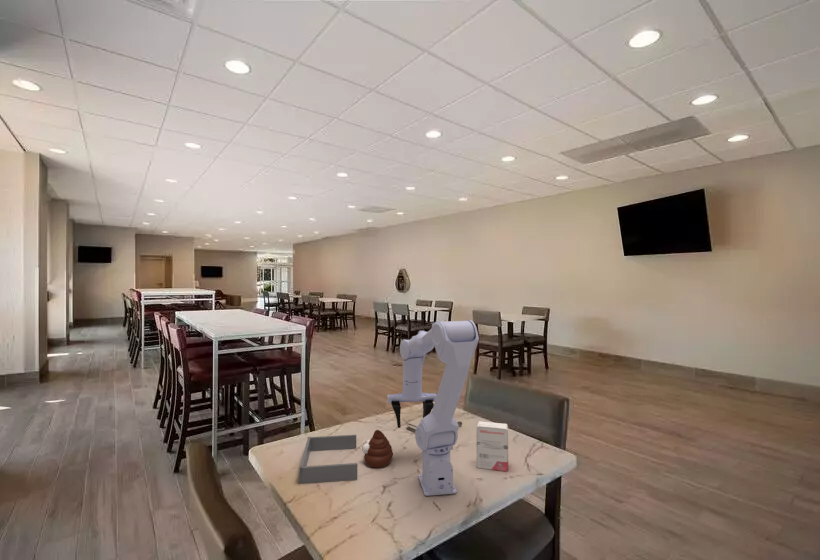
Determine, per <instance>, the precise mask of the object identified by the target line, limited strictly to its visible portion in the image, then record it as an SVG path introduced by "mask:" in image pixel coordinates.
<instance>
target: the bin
mask: <svg viewBox="0 0 820 560" xmlns="http://www.w3.org/2000/svg"><path fill="white" fill-rule="evenodd" d="M352 449H357V434H343V435H342V434H341V435H340V434H339V435H324V436H323V435H322V436H307V439H306V443H305V446H304V450H303V454H302V458H301V461H300V464H299V467H298V469H299V470H298V475H299V476H298V484H299V485H301V484H303V485H304V484H316V483H326V482H328V483H329V482H331V483H332V482H341V481H356V480H358V466H359V465H358V462H352V463H351V462H350V463H333V464H321V465H319V464H318V465H308V463H309V462H308V461H309V458H310V453H311V452H317V451H318V452H320V451H333V450H334V451H337V450H352Z"/></svg>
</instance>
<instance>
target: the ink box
mask: <svg viewBox="0 0 820 560" xmlns="http://www.w3.org/2000/svg"><path fill="white" fill-rule="evenodd" d="M476 468H477V469H483V470H493V471H499V472H500V471H501V472H509V426H508V423H499V422H491V421H481V420H478V422H477V424H476Z"/></svg>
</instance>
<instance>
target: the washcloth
mask: <svg viewBox="0 0 820 560" xmlns="http://www.w3.org/2000/svg"><path fill="white" fill-rule="evenodd" d="M421 419H422V418H419V419H416V420H411V421H408V422H407V423H406V426H407V427H406V429H407V430H408V431H410V432H412V433H414V434H415V431H416V428H417V426H418V425H419V424H420V422H421ZM456 421H457V423H458V426H459V428H461V427H462V426H463V422H462V421H461V420H458V419H456Z"/></svg>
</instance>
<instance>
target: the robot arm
mask: <svg viewBox="0 0 820 560" xmlns="http://www.w3.org/2000/svg"><path fill="white" fill-rule="evenodd" d="M479 341H480V337H479V332H478V328H477V326H476V324H475V323H474V321H473V320H471V319H466V320H454V321H453V320H451V321H450V320H449V321H447V320H446V321H441V320H436V321H435V322H433V323H431V328H430V329H429V330H428V331H425V330H419V331H417V334H416V335H413V336H411V338H410V339H402V340H401V342H400V344H399V353H400V357H401V359H402V392H400V393H392V394H387V398H386V399H387V400H386V401H387V404H390V405H391V407H392V409H393V411H394V415H395V418H396V423H397V424H396V426H397V428H398V429H401V428H402V427H401V426H402V425H401V423H402V422H401V408H402V406H401V403H411V402H412V403H413V402H417V403H418V402H422V418H420V419H421V422H420V424H419V425H418V426H417V428H416V431H415V433H414V435H415V437H414V438H415V441H416V445H417V447H418V448H419V449H420V450H421V452H422V453H421V454H422V455H421V456H422V457H421V462H422V463H421V464H422V465H421V466H422V467H421V471H422V472H421V474H419V475H418V476H417V477H418V479H419V480H418V481H419V483H420V486H421V488H422V492H423V494H424V496H441V495H442V496H443V495H452V494H455V495H456V494H457V489H456V487H455V485H454V468H453V467H454V466H453V465H452V462H451V451H452V450H454V446H455V445H456V443H457V442H458V436H459V435H458V433H459V432H458V431H459V428H460V427H459V426H458V423H457V421H456V420H457V419H456V418H455V417H454V416H455V412H456V409H457V407H458V404H459V401H460V399H461V395H462V392H463V389H464V386H465V384H466V380H467V377H468V374H469V371H470V368H471V363H472V359H474V358H473V357H474V356H475V352H476V349H477V346H478V344H479ZM434 348H435V349H434ZM433 349H434V350H435V352H436V354H437V357H438V359H439V361H440V362H442V363H444V364H445V367H444V371H443V374H442V377H441V380H440V384H439V387H438V391H437V394H436V392H431V393H430V392H423V365H424V363H425V357H426V355H427V354H428V353H429V352H431V351H432V350H433Z"/></svg>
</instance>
